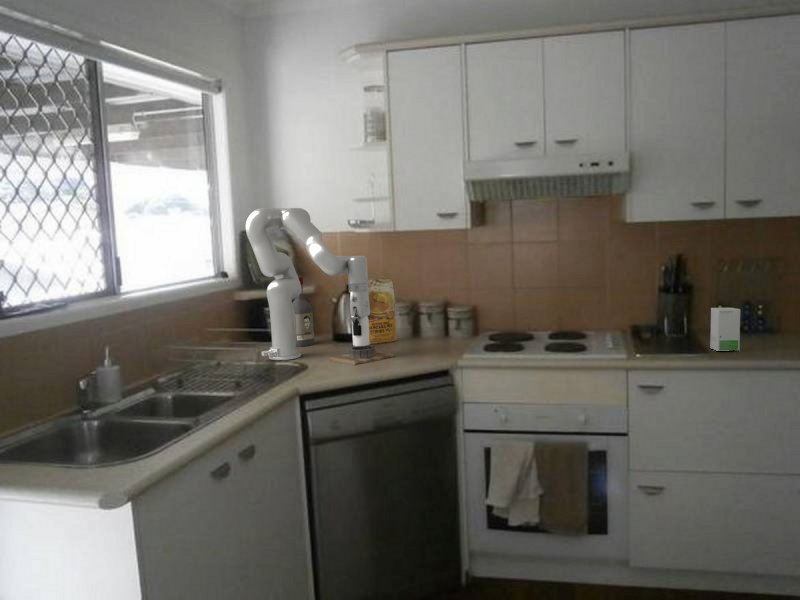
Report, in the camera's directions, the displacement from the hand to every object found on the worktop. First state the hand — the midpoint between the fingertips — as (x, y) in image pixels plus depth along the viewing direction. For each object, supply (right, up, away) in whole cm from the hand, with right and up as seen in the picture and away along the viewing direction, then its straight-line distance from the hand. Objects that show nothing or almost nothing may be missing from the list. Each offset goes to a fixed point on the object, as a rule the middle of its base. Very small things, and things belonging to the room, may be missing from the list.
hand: (360, 333), depth 263 cm
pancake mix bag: (+6, -6, +35) cm, 36 cm away
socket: (+1, -10, +1) cm, 10 cm away
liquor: (-28, -7, +37) cm, 47 cm away
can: (0, -5, +1) cm, 5 cm away
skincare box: (+134, -6, -14) cm, 135 cm away
